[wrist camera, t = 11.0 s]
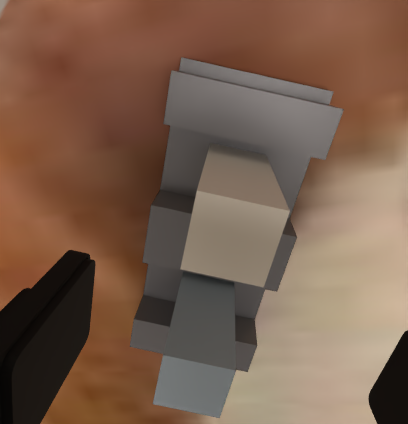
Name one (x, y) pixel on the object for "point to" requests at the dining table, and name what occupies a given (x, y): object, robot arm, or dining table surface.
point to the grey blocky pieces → (193, 166)
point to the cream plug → (235, 217)
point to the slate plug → (199, 347)
